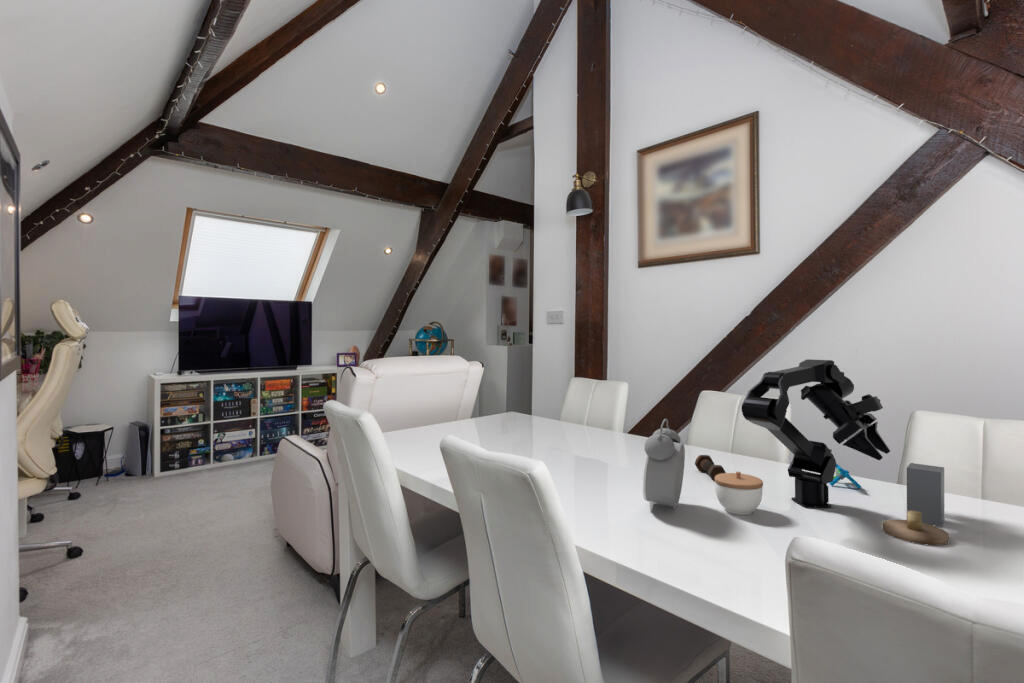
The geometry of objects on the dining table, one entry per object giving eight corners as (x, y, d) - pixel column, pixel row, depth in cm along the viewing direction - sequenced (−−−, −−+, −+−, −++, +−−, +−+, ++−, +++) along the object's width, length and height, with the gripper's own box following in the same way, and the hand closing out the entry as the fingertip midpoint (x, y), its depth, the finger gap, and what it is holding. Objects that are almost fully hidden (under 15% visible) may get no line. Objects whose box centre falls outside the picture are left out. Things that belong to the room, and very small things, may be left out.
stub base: (909, 545, 101) (909, 522, 101) (870, 525, 112) (869, 504, 112) (963, 544, 101) (963, 521, 101) (919, 524, 112) (919, 503, 112)
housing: (906, 520, 115) (906, 467, 115) (911, 513, 119) (910, 462, 119) (941, 527, 110) (941, 472, 110) (944, 520, 115) (944, 467, 115)
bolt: (720, 490, 144) (700, 474, 159) (736, 482, 144) (714, 466, 159) (710, 473, 144) (691, 459, 159) (726, 464, 144) (705, 450, 159)
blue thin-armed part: (866, 488, 134) (834, 458, 138) (848, 502, 135) (817, 472, 139) (859, 482, 143) (830, 455, 147) (842, 496, 145) (813, 468, 149)
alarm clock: (653, 495, 135) (652, 413, 134) (687, 499, 131) (686, 415, 131) (640, 515, 120) (639, 423, 120) (678, 520, 116) (677, 425, 116)
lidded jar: (725, 500, 130) (725, 464, 130) (769, 510, 122) (769, 471, 122) (707, 510, 122) (706, 472, 122) (753, 522, 115) (752, 480, 115)
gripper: (848, 386, 117) (908, 441, 109) (866, 381, 130) (921, 429, 122) (810, 417, 123) (865, 470, 115) (831, 409, 136) (881, 456, 128)
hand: (884, 455), depth 120 cm, fingers open, 9 cm apart
